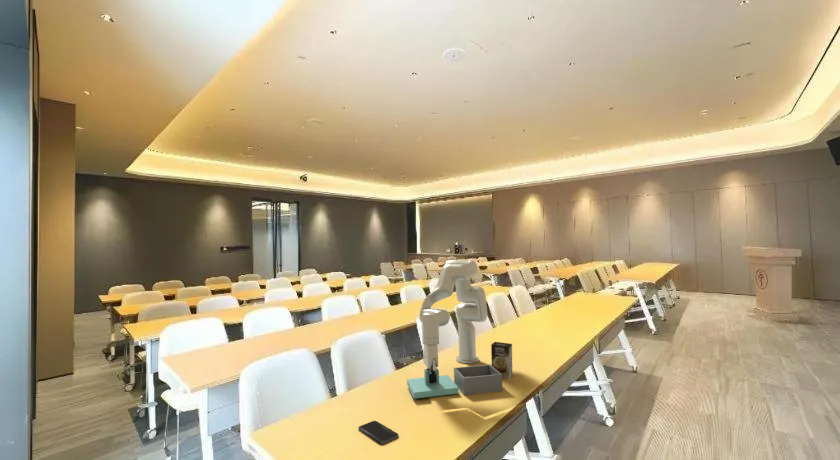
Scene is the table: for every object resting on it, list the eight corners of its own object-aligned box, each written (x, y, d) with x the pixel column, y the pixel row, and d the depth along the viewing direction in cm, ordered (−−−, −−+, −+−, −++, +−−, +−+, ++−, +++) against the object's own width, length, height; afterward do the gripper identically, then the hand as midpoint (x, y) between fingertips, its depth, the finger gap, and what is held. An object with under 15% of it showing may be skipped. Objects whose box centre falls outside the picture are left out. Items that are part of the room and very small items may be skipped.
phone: (381, 443, 124) (357, 427, 135) (381, 446, 124) (357, 430, 135) (400, 434, 129) (375, 419, 141) (400, 438, 129) (375, 422, 141)
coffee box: (491, 377, 183) (490, 344, 184) (495, 373, 189) (494, 341, 189) (509, 380, 179) (508, 346, 180) (513, 376, 185) (512, 343, 185)
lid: (407, 384, 173) (406, 366, 173) (448, 380, 177) (447, 362, 177) (413, 398, 158) (413, 378, 158) (458, 393, 162) (457, 373, 162)
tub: (454, 385, 175) (453, 367, 175) (490, 381, 178) (489, 364, 179) (463, 397, 161) (463, 378, 161) (502, 392, 165) (502, 374, 165)
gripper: (418, 336, 175) (419, 375, 175) (426, 345, 159) (427, 389, 159) (434, 335, 177) (435, 374, 176) (443, 344, 161) (444, 387, 160)
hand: (431, 380), depth 168 cm, fingers open, 3 cm apart
